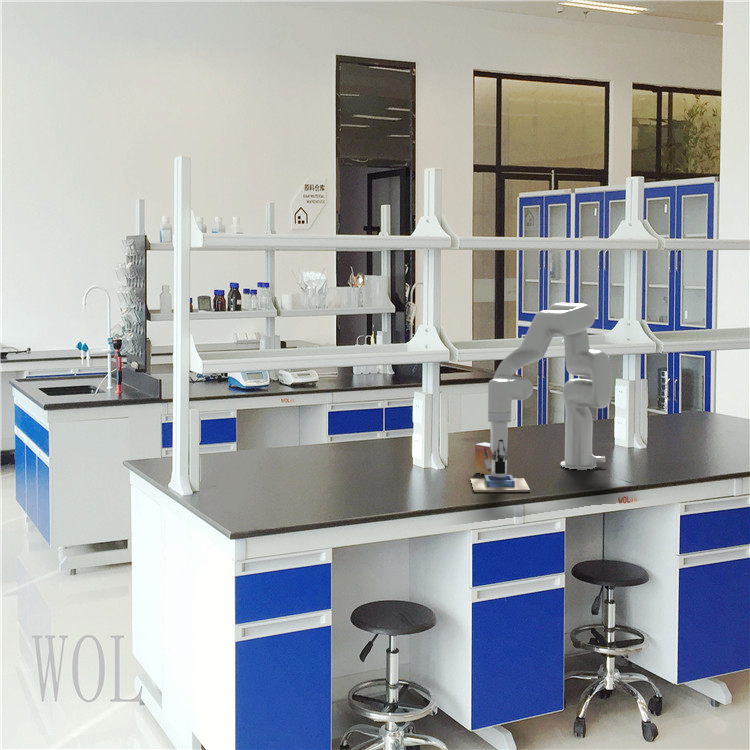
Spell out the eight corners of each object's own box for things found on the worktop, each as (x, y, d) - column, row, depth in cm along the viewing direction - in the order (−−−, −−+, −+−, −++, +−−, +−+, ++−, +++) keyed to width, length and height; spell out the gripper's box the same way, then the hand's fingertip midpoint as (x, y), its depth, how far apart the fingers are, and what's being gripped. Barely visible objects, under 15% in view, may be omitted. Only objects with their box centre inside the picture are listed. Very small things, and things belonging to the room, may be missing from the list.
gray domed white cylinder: (505, 473, 326) (506, 453, 325) (507, 477, 321) (507, 456, 320) (490, 473, 326) (490, 453, 325) (492, 477, 321) (492, 456, 320)
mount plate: (523, 481, 332) (524, 472, 331) (529, 492, 316) (530, 483, 315) (470, 481, 332) (470, 472, 332) (473, 492, 316) (473, 483, 316)
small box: (474, 473, 344) (474, 444, 342) (484, 471, 348) (484, 441, 346) (492, 477, 338) (492, 447, 337) (502, 474, 342) (502, 444, 341)
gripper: (485, 412, 330) (485, 466, 332) (490, 421, 313) (489, 477, 315) (508, 412, 329) (507, 466, 332) (514, 421, 313) (513, 477, 315)
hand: (499, 471), depth 323 cm, fingers closed on gray domed white cylinder, 5 cm apart
